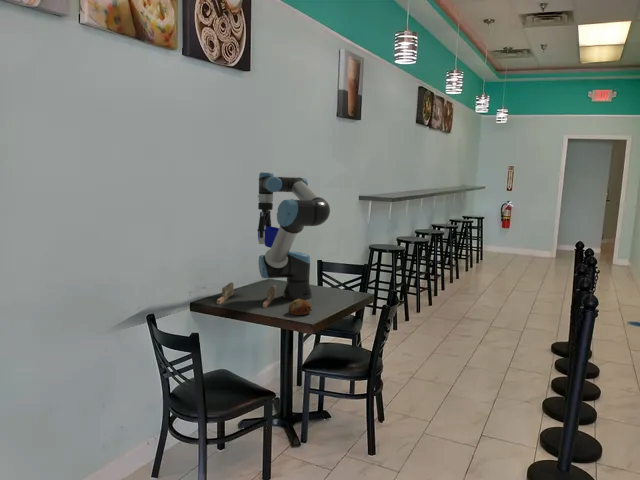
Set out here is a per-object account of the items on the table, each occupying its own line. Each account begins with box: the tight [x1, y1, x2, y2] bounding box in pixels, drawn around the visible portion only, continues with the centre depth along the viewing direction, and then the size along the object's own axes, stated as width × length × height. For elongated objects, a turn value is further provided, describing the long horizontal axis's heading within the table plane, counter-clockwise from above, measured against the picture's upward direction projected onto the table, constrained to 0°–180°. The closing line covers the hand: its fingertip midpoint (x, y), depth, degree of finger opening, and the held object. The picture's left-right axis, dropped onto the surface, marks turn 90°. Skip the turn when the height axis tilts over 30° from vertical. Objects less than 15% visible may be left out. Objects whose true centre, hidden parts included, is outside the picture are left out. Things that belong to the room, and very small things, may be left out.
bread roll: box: [288, 299, 313, 316], centre depth 235 cm, size 10×10×8 cm
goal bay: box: [216, 296, 270, 308], centre depth 249 cm, size 24×7×2 cm, turn 83°
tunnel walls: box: [221, 282, 277, 304], centre depth 260 cm, size 24×14×6 cm, turn 83°
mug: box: [257, 226, 279, 249], centre depth 276 cm, size 8×12×10 cm
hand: (264, 242), depth 274 cm, fingers open, 13 cm apart
